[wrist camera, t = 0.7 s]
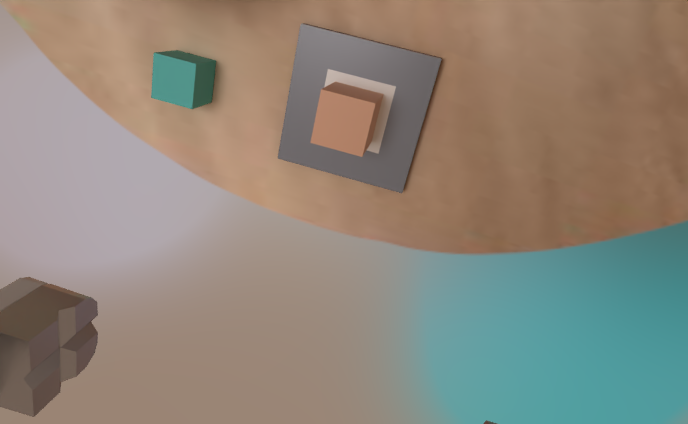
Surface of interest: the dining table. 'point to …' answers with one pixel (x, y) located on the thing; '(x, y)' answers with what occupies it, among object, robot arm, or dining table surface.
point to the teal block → (183, 78)
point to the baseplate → (367, 73)
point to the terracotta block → (346, 118)
